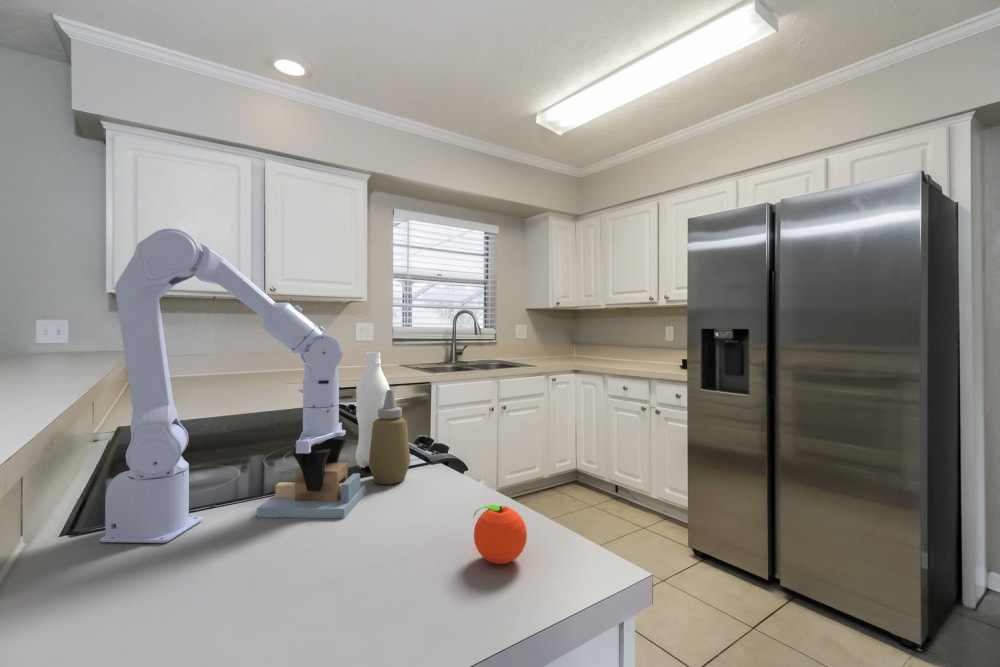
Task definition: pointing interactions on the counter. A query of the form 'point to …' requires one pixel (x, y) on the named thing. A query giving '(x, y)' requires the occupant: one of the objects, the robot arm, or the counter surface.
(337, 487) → the cabinet block
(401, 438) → the squeeze bottle
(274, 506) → the cleat board
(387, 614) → the counter surface
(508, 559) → the clementine
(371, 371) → the water bottle
